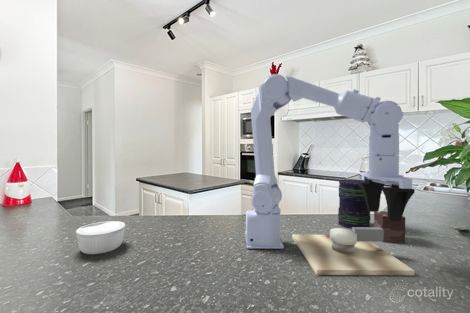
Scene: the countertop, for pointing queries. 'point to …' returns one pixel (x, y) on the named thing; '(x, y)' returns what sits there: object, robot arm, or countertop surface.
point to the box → (390, 227)
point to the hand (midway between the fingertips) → (383, 215)
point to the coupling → (356, 235)
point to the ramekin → (100, 237)
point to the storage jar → (352, 205)
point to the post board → (348, 257)
